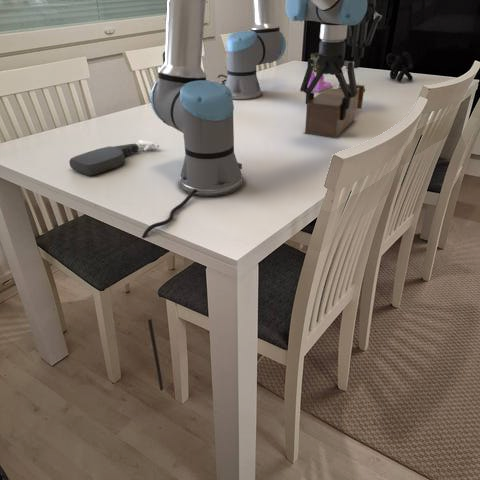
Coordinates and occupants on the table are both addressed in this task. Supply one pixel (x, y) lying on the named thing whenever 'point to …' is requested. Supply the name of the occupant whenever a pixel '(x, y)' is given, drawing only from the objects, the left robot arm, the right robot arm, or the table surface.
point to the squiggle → (399, 66)
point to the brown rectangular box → (328, 113)
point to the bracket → (319, 83)
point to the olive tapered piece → (316, 67)
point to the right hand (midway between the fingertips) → (355, 67)
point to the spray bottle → (106, 157)
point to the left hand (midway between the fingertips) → (326, 116)
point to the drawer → (359, 96)
